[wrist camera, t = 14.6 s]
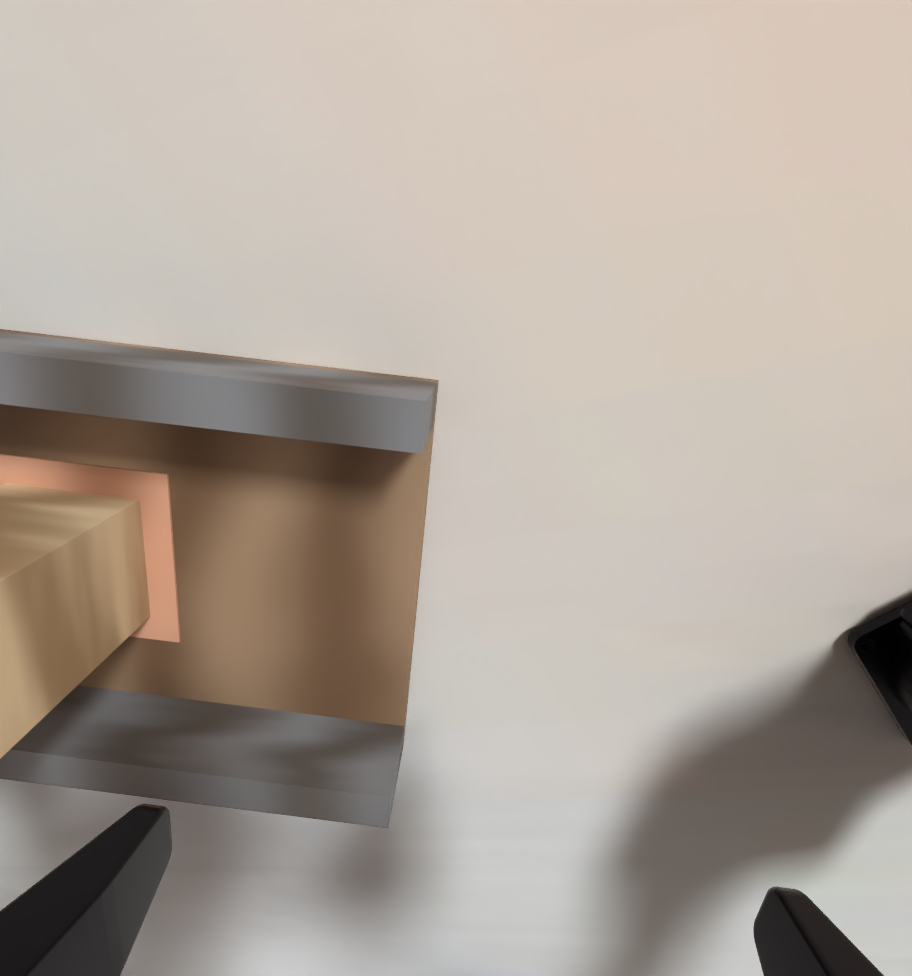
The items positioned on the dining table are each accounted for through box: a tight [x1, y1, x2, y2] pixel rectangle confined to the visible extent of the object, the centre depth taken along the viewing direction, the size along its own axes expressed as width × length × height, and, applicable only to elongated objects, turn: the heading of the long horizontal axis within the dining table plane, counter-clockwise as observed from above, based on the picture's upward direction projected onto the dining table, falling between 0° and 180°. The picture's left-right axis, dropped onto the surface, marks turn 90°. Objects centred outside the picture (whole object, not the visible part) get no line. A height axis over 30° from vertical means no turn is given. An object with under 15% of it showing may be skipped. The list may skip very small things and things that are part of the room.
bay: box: [0, 329, 438, 828], centre depth 20 cm, size 19×16×4 cm
